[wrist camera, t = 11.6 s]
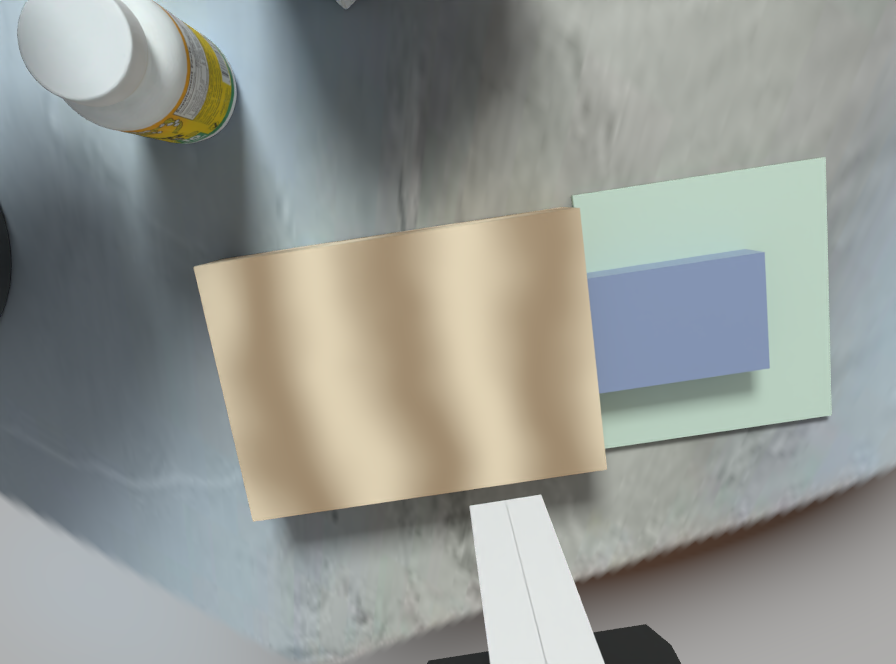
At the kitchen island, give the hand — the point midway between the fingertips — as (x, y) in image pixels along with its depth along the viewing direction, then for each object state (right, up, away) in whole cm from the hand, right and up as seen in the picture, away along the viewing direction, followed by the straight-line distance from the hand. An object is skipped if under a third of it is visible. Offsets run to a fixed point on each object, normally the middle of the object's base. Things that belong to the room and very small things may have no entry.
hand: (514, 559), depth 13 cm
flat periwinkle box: (+10, +6, +20) cm, 23 cm away
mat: (+12, +6, +21) cm, 25 cm away
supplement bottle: (-14, +17, +18) cm, 29 cm away
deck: (-3, +4, +21) cm, 21 cm away
